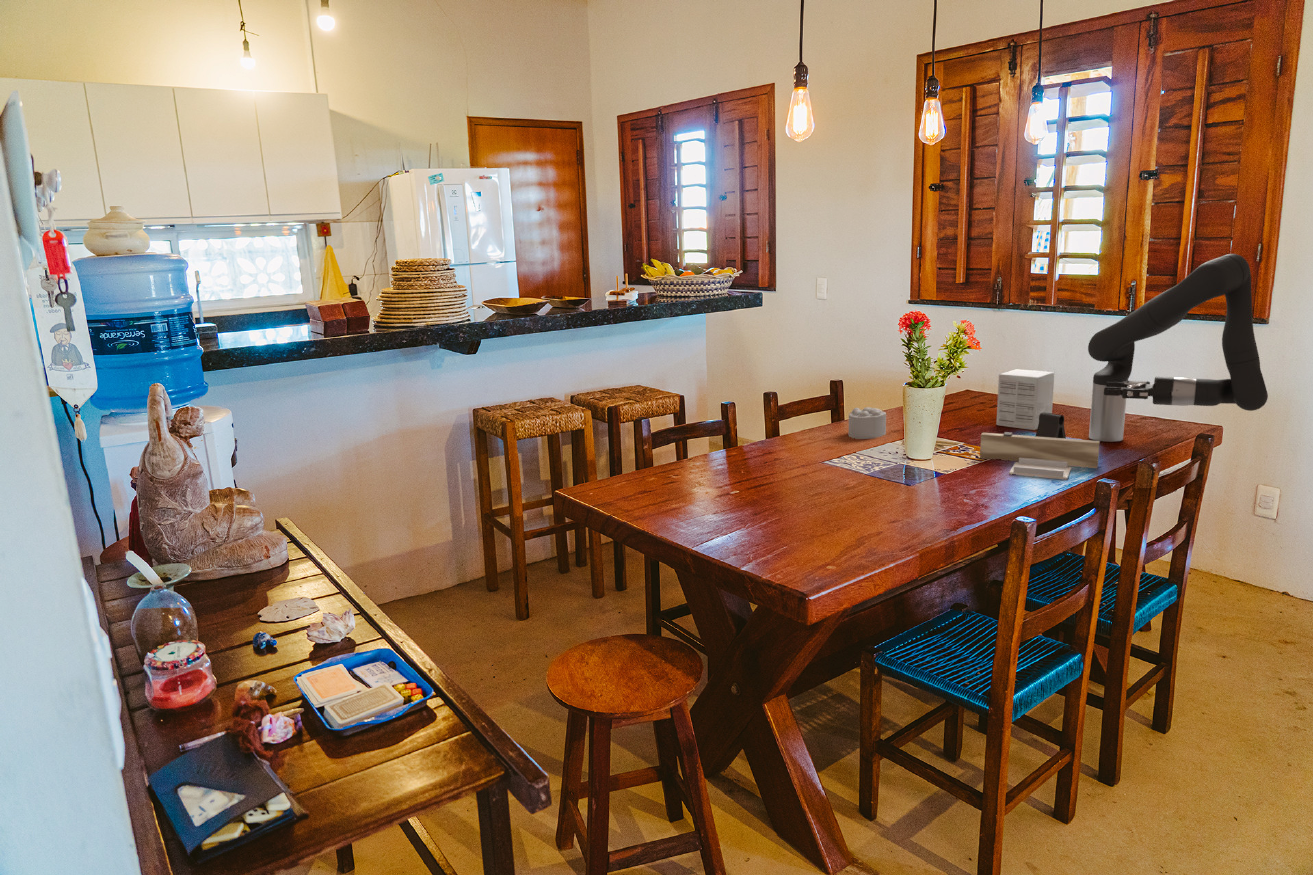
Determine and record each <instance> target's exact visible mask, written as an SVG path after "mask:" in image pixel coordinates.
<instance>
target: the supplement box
mask: <svg viewBox="0 0 1313 875" xmlns="http://www.w3.org/2000/svg"><path fill="white" fill-rule="evenodd" d="M997 384H998V387H997V406H996V407H997V409H996V424H995V425H997V426H1002V427H1008V428H1014V429H1015V428H1017V429H1023V430H1031V431H1035V430H1036V431H1037V428H1038V424H1039V415H1040V413H1043V412H1046V413H1052V414H1053V400H1054V387H1055V372H1054V371H1045V370H1034V369H1032V370H1031V369H1017V368H1015V369H1012V370H1009V371H1006V372H1003V373H999V374H998V383H997Z"/></svg>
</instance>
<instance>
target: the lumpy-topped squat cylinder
mask: <svg viewBox="0 0 1313 875" xmlns="http://www.w3.org/2000/svg"><path fill="white" fill-rule="evenodd" d="M886 432H887V412H885V411H882V410H881V409H880V408H876V407H870V406H869V407H868V406H866V407H864V408H863V409H860V408H859V407H855V408H853V409H852V410H851V412H850V413H849V414H848V437H849V438H850V437H852V438H851V439H854V438H855V439H856V440H867V439H869V440H870V439H877V438H881V437H883V436H885V435H886V434H887V433H886Z"/></svg>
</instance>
